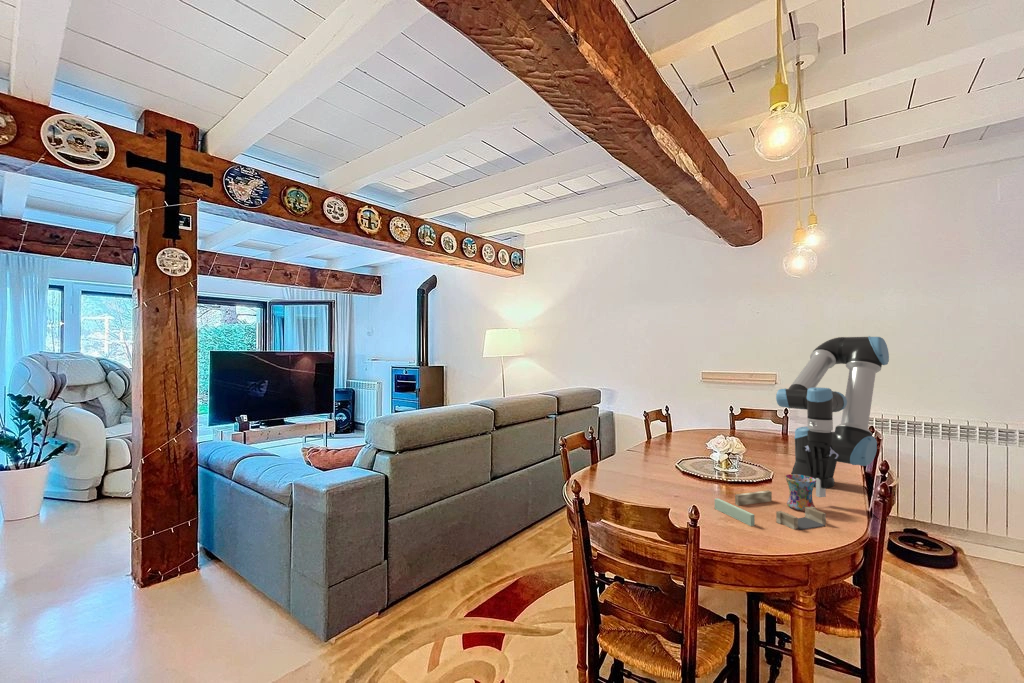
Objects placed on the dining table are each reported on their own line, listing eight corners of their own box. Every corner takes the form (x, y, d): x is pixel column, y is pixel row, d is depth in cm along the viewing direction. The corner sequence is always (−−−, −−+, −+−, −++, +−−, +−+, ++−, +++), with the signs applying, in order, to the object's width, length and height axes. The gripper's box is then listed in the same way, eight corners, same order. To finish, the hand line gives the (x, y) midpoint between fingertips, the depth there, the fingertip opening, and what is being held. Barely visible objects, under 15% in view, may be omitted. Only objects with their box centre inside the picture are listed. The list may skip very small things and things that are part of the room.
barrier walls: (768, 499, 164) (768, 490, 164) (829, 523, 142) (829, 512, 142) (735, 504, 160) (735, 494, 160) (792, 529, 137) (792, 518, 137)
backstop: (718, 508, 156) (718, 498, 156) (754, 525, 141) (754, 514, 141) (714, 508, 156) (714, 498, 156) (750, 526, 140) (750, 515, 140)
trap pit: (805, 518, 146) (805, 517, 146) (825, 526, 140) (825, 525, 140) (781, 521, 144) (781, 520, 144) (800, 530, 137) (800, 529, 137)
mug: (812, 515, 149) (811, 483, 149) (781, 508, 156) (781, 477, 156) (822, 506, 157) (821, 476, 157) (792, 499, 164) (791, 471, 164)
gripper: (795, 428, 164) (796, 491, 164) (829, 434, 152) (830, 503, 151) (811, 427, 167) (812, 490, 166) (845, 433, 154) (846, 501, 153)
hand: (820, 496), depth 159 cm, fingers closed
